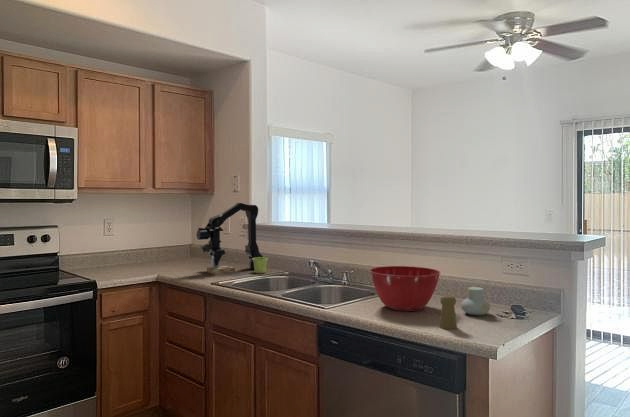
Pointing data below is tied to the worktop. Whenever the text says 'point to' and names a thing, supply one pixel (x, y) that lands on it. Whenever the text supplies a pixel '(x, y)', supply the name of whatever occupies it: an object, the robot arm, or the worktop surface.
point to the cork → (448, 312)
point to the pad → (237, 273)
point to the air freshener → (475, 302)
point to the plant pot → (260, 264)
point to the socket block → (221, 270)
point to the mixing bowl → (404, 286)
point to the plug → (213, 263)
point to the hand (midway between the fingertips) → (215, 265)
